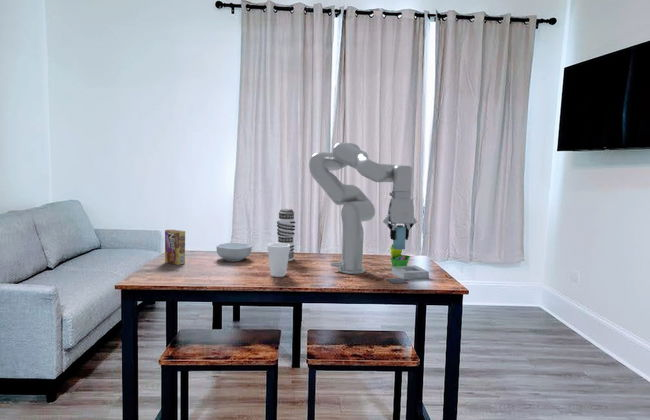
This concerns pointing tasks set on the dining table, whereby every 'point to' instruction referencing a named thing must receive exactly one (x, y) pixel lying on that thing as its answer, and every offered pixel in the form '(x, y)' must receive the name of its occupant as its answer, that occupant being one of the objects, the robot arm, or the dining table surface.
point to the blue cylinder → (399, 237)
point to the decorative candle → (286, 229)
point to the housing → (410, 272)
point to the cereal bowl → (234, 251)
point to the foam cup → (278, 258)
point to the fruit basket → (398, 257)
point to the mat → (396, 281)
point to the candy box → (175, 247)
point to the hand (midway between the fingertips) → (399, 238)
